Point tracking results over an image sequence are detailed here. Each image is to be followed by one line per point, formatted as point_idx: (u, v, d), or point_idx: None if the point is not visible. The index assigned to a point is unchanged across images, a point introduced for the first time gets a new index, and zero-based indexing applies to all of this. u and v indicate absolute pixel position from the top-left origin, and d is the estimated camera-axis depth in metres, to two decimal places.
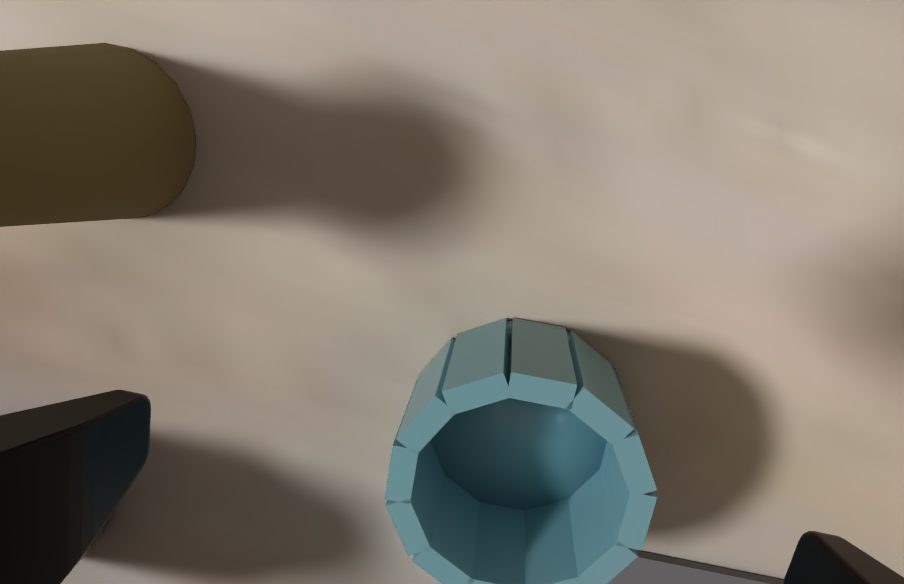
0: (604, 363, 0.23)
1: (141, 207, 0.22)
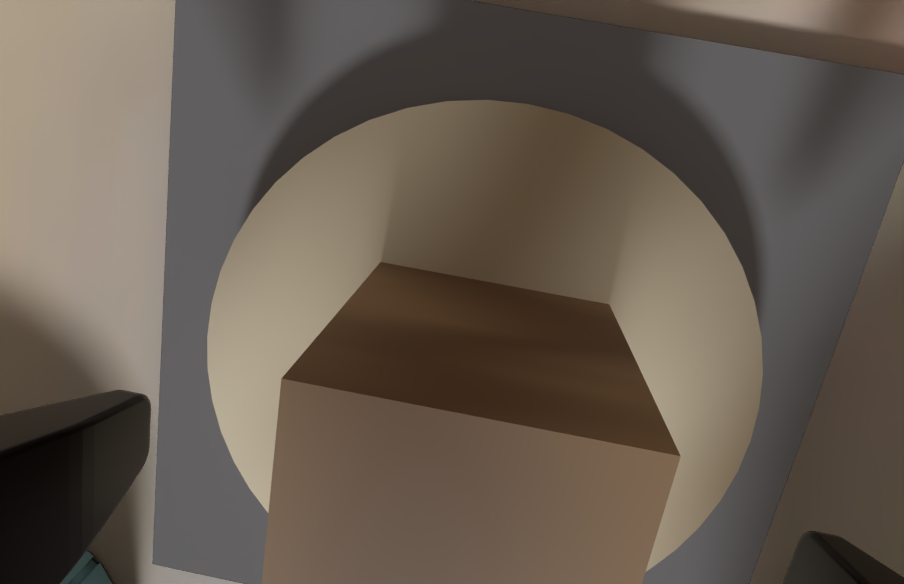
0: None
1: None
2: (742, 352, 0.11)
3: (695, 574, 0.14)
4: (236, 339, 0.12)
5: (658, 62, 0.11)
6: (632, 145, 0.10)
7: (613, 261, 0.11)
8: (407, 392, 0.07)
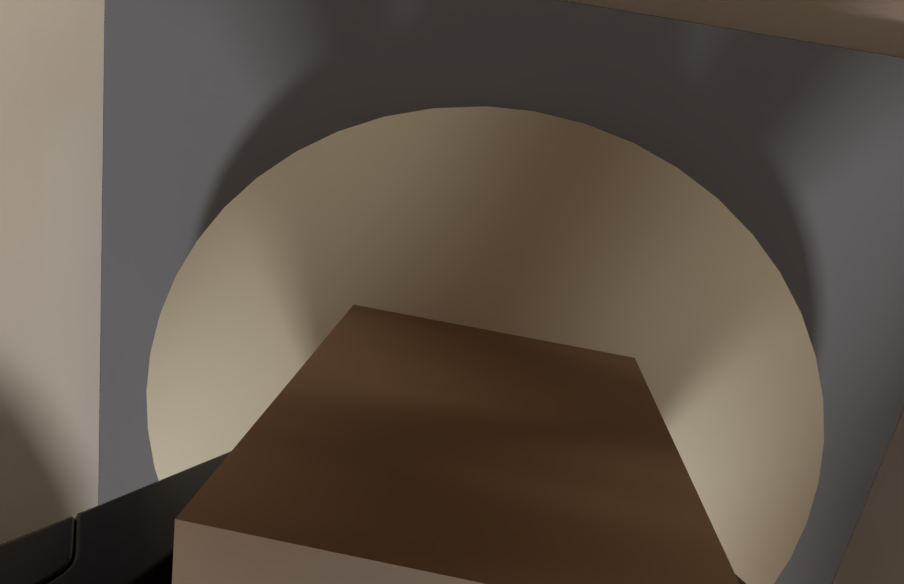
0: None
1: None
2: (799, 418, 0.09)
3: None
4: (181, 395, 0.10)
5: (694, 59, 0.09)
6: (665, 163, 0.08)
7: (640, 306, 0.09)
8: (362, 534, 0.05)
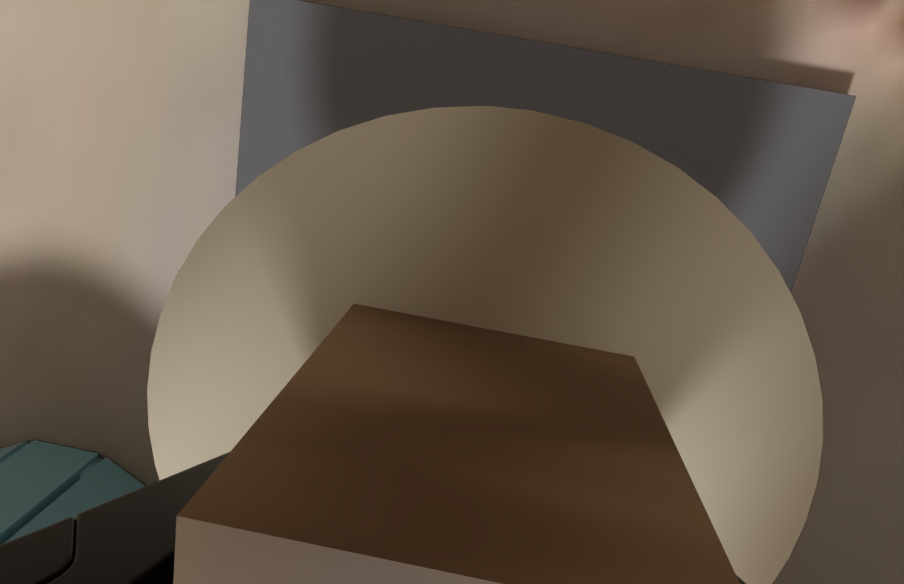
0: None
1: None
2: (798, 416, 0.09)
3: None
4: (182, 394, 0.10)
5: (636, 82, 0.14)
6: (665, 162, 0.08)
7: (640, 305, 0.09)
8: (363, 530, 0.05)
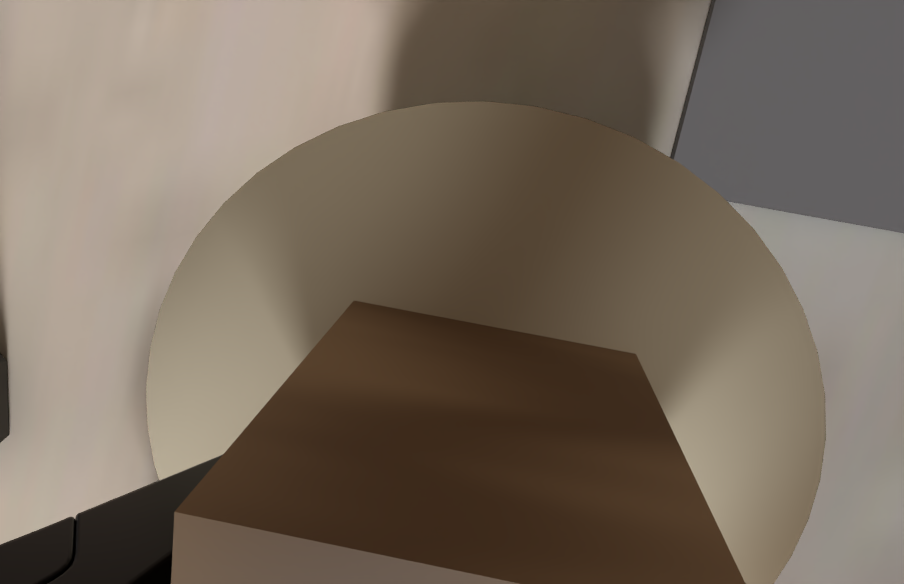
0: None
1: None
2: (801, 414, 0.09)
3: None
4: (181, 391, 0.10)
5: None
6: (667, 157, 0.08)
7: (641, 301, 0.09)
8: (362, 526, 0.05)
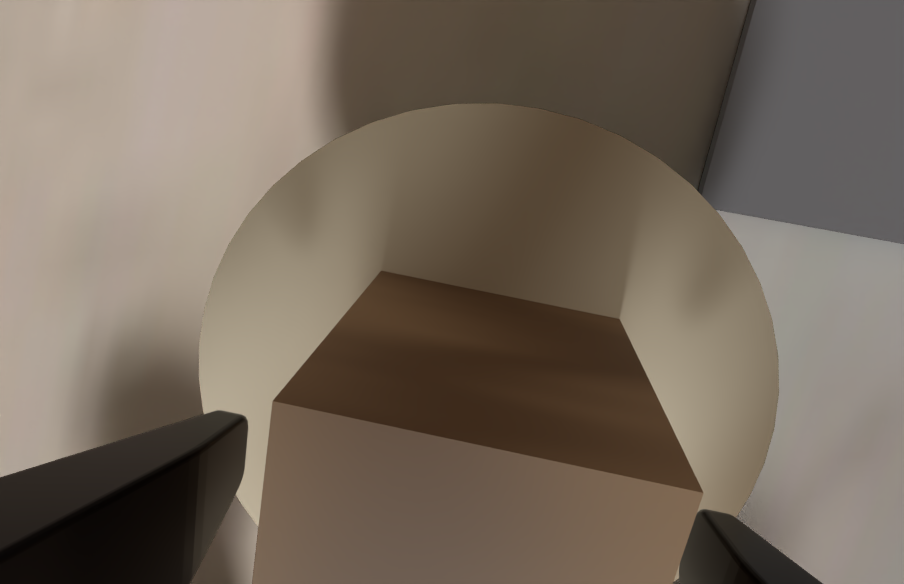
0: None
1: None
2: (757, 372, 0.11)
3: None
4: (229, 348, 0.11)
5: None
6: (647, 153, 0.10)
7: (625, 274, 0.10)
8: (407, 417, 0.06)
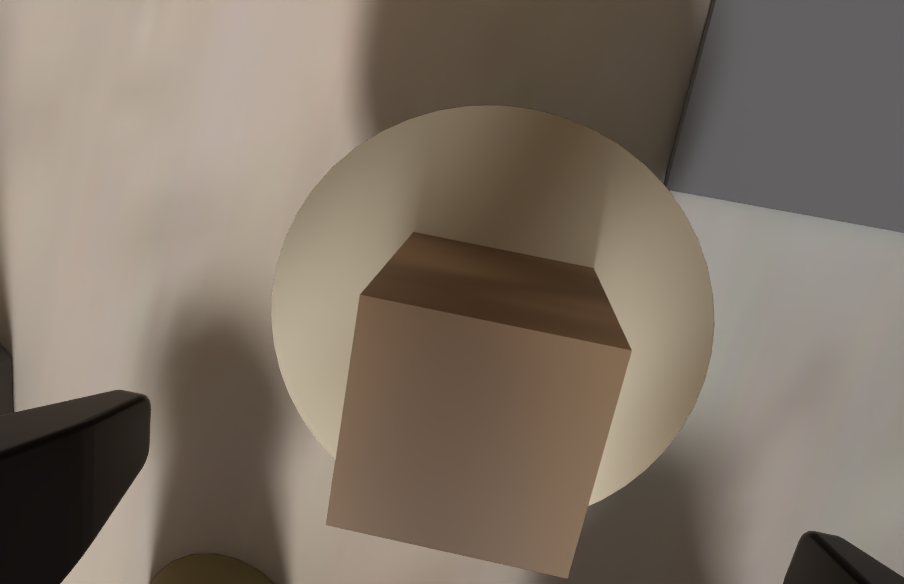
0: None
1: None
2: (698, 308, 0.14)
3: None
4: (295, 293, 0.15)
5: None
6: (613, 142, 0.13)
7: (597, 233, 0.14)
8: (445, 306, 0.10)
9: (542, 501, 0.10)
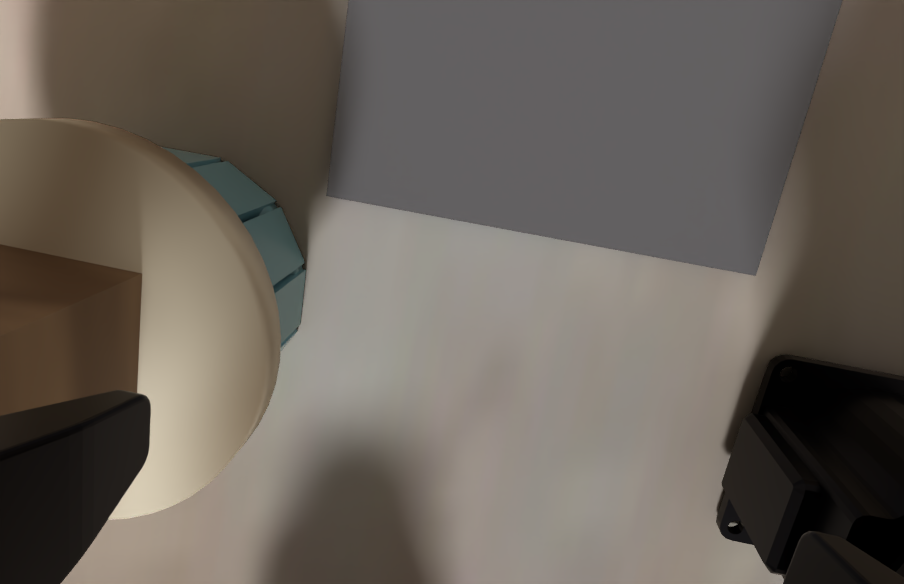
0: None
1: None
2: (242, 311, 0.15)
3: (744, 177, 0.18)
4: None
5: None
6: (136, 153, 0.14)
7: (139, 240, 0.15)
8: None
9: None
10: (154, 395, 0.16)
